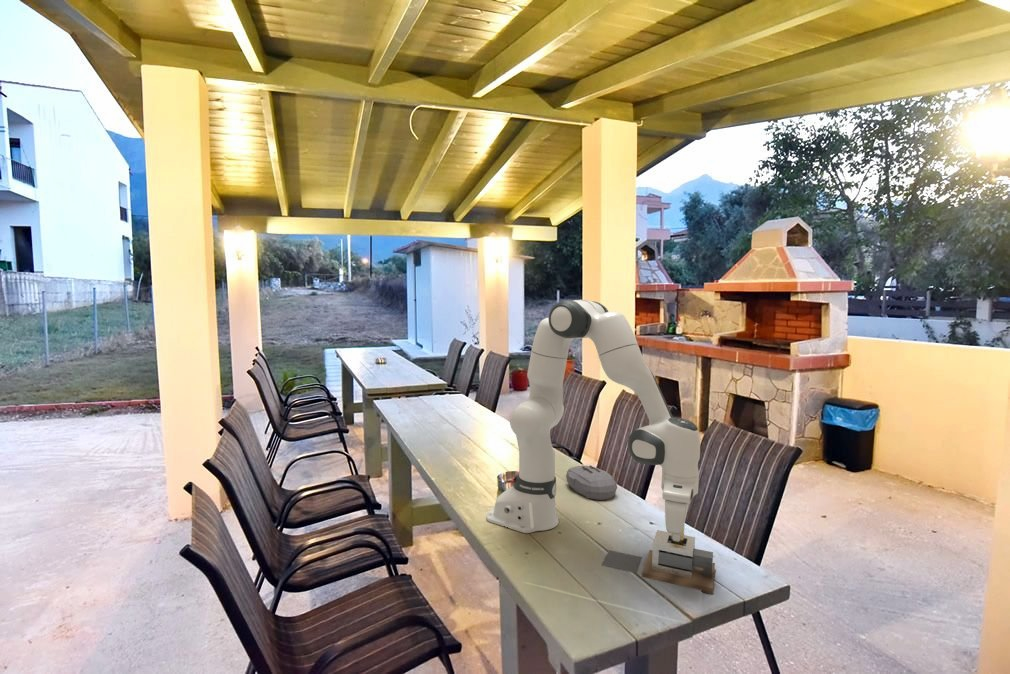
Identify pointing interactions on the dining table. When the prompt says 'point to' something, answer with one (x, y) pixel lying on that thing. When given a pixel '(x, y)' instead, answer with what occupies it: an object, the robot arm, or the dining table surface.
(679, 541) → the brass pin
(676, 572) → the block
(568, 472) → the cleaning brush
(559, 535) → the dining table surface
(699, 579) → the walnut base
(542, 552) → the dining table surface
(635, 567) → the rubber mat
